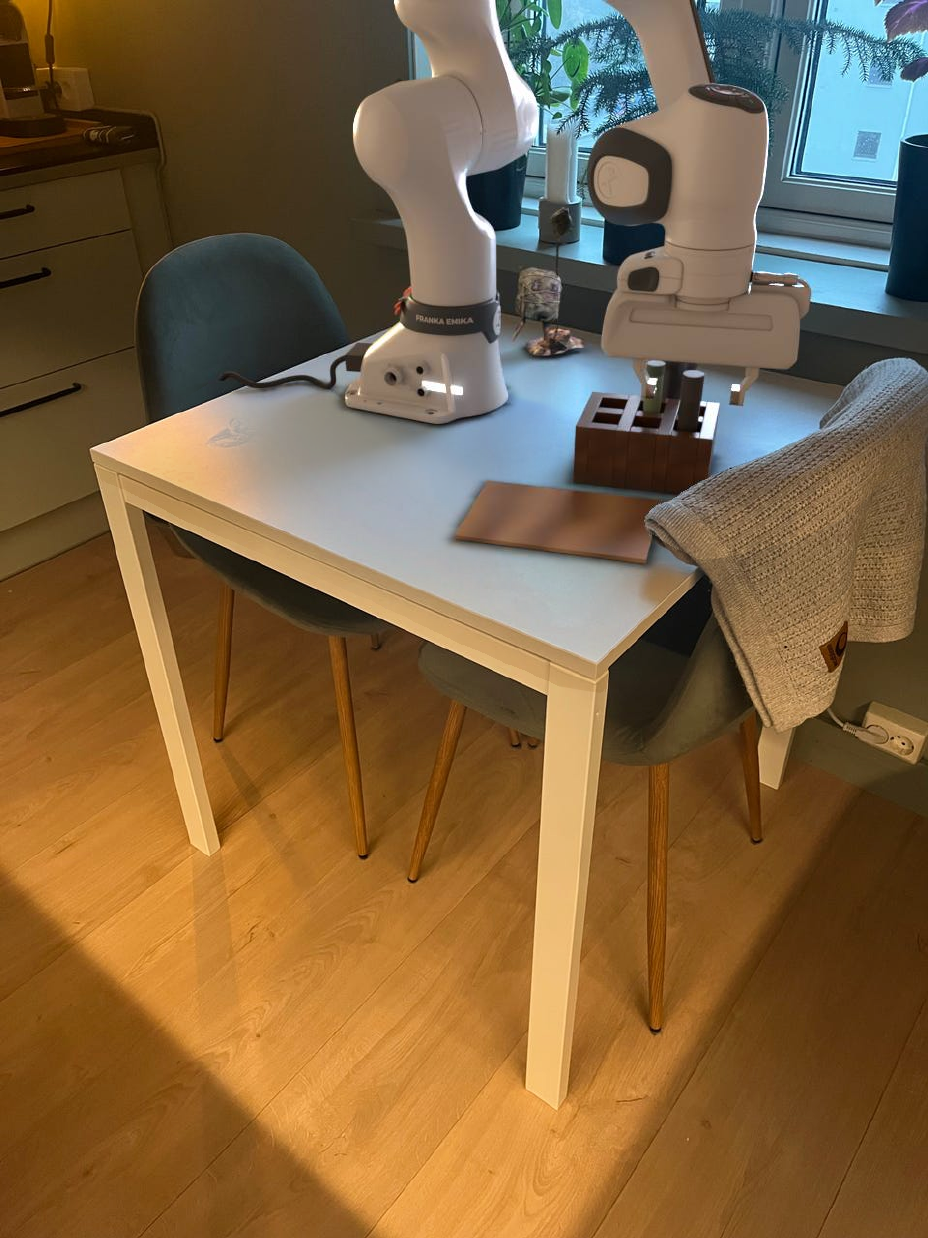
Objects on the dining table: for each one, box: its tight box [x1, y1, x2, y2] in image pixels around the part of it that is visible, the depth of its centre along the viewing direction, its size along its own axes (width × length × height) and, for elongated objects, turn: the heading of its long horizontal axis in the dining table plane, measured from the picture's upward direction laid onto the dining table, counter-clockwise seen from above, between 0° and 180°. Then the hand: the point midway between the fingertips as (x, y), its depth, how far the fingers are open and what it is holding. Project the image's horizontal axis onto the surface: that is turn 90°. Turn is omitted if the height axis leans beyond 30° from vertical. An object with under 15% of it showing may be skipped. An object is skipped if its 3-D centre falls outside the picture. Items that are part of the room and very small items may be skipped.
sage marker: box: [643, 360, 666, 413], centre depth 111 cm, size 2×2×12 cm
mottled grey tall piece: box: [511, 207, 585, 357], centre depth 142 cm, size 8×11×20 cm
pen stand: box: [572, 391, 721, 495], centre depth 111 cm, size 15×10×7 cm
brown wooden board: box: [454, 480, 663, 565], centre depth 103 cm, size 20×13×1 cm, turn 73°
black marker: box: [677, 370, 705, 433], centre depth 107 cm, size 2×2×13 cm
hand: (691, 400), depth 104 cm, fingers open, 8 cm apart
